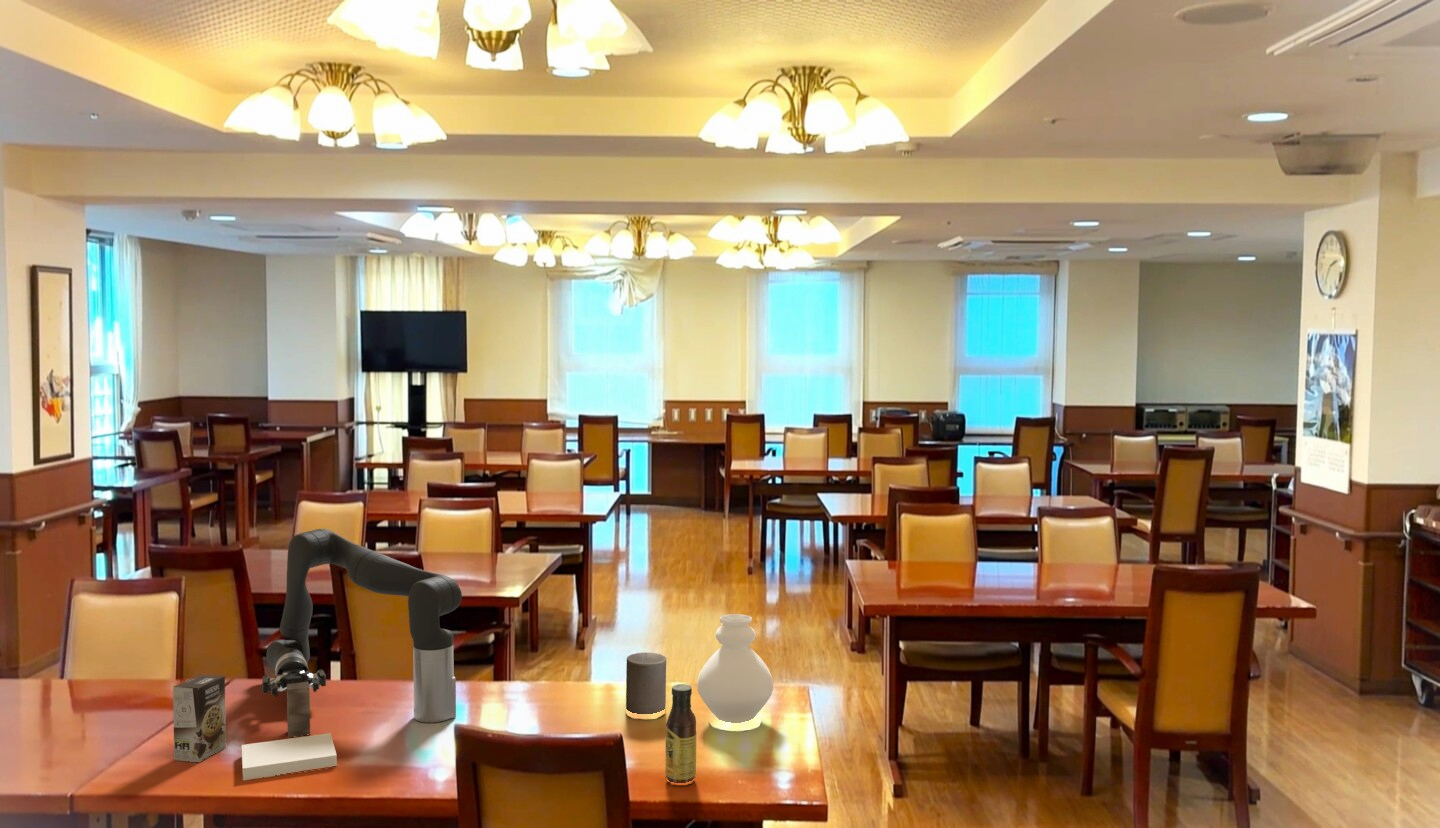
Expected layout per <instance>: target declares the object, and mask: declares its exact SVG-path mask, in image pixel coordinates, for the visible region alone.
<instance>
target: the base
mask: <svg viewBox="0 0 1440 828" xmlns="http://www.w3.org/2000/svg"><path fill="white" fill-rule="evenodd" d="M337 757H338V755H337V751H336V748H335V745H334V739H333V737H332V733H331V732H329V733H322V734H314V735H308V736H300V737H293V738H285V739H284V738H283V739H276V740H269V741H260V742H253V743H248V744H241V765H242V766H241V767H242V781H249V780H256V779H262V778H263V777H264V778H270V777H276V776H275V775H277V776H281V775H280V774H284V775H287V774H286V773H291V772H298V771H303V770H310V769H317V768H324V767H332V766H337V767H338V762H337V761H338V760H337V759H338V758H337ZM332 768H333V767H332ZM298 773H299V772H298ZM291 774H292V773H291Z"/></svg>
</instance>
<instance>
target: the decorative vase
mask: <svg viewBox="0 0 1440 828" xmlns="http://www.w3.org/2000/svg"><path fill="white" fill-rule="evenodd" d="M752 619H753V617H752V616H751V615H747V614H741V613H729V614H724V615H723V614H722V615H721V616H719V622H720V623H721V624H722V625H720V626H719V627H718V628H717V630H716V632H715V638H716V640H717V642H718V643H719V644H720V645H721V646H720V647H719V648H718V649H717V651H715V652H714V653H713V654H712V655H711V656H710V657H709V658H708V660H707V661H706V662H705V663H704V665H703V667H702V668H701V670H700V672H699V674H698V677H697V678H698V679H697V684H696V685H697V692H698V695H699V696H700V698H701V700H702V701H703V703H704V704H705V705H706V707H707V708H708V709H709V710H710V711H711V713H712V715H715V716H716V717H717V718H718V719H719V720H722V721H725V722H731V723H741V722H745V721H749V720H751V719H753V718H754V717H755V716H756V715H758V713H759V712H760V711H761V710H762V709H763V707H765V705H766V704H767V702H768V701H769V699H770V698H771V696H772V694H773V691H774V679H773V676H772V673H771V671H770V670H769V668H768V666H767V665H766V663H765V662H764V660H763V659H762V658H761V657H760V656H759V655H758V654H757V653H756V652H755V651H754V649H752V648H751V647H750V645H752V643H753V642H755V639H756V638H757V634H756V631H755V629H754V628H753V627H752V626H750V624H751V623H752V622H753V620H752Z"/></svg>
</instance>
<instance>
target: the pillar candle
mask: <svg viewBox="0 0 1440 828" xmlns="http://www.w3.org/2000/svg"><path fill="white" fill-rule="evenodd" d="M625 671H626V672H625V673H626V674H625V675H626V680H625V681H626V683H625V684H626V685H625V687H626V691H625V698H626V699H625V710H626V709H627V710H628V711H630V712H632V713H637V714H653V713H657V712H660V711H662V710H664V709H665V710H666V706H667V705H666V701H667V699H666V697H667V657H666V656H665V655H664V654H661V653H657V652H636V653H632V654H630V655H628V656H627V657H626V670H625Z"/></svg>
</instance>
